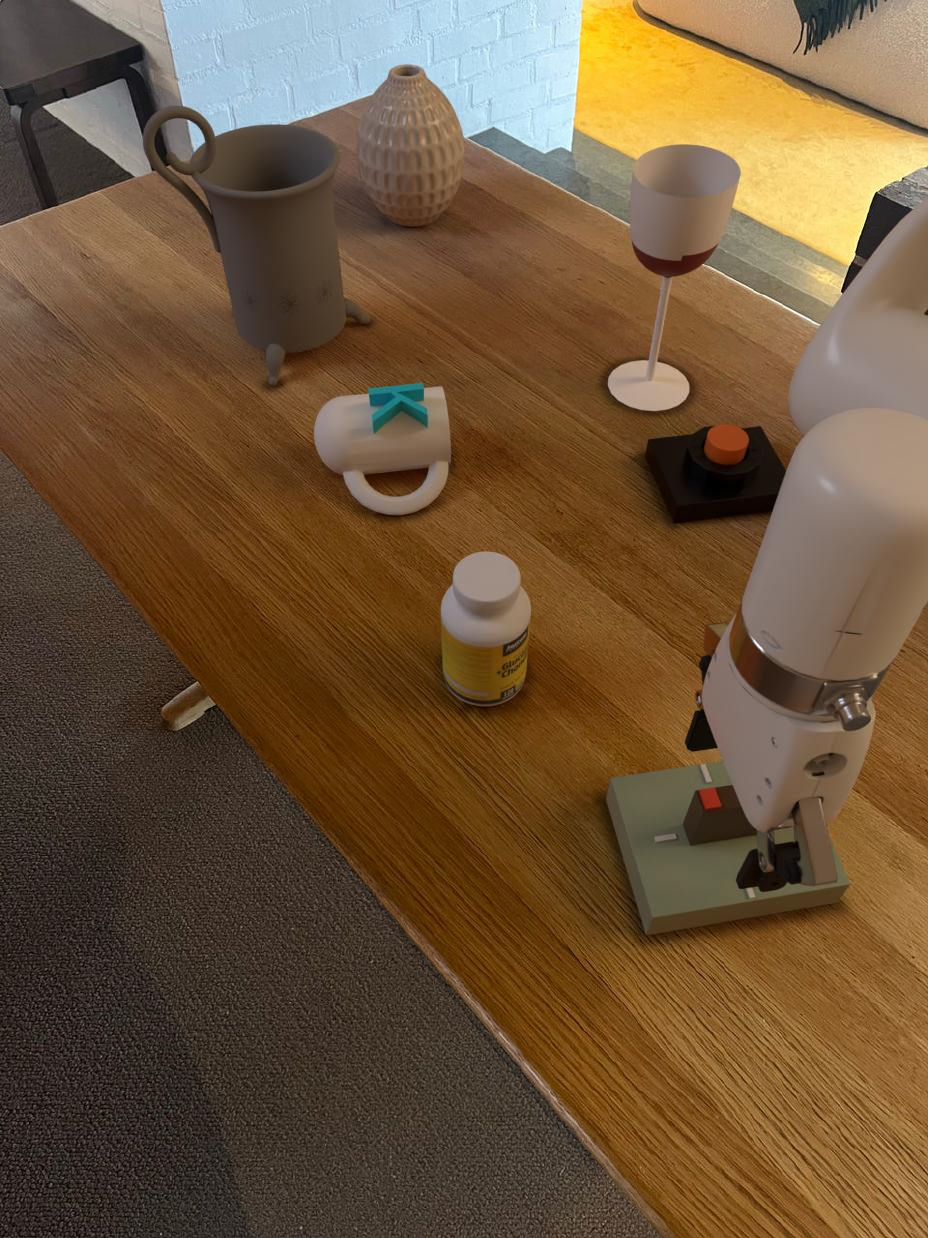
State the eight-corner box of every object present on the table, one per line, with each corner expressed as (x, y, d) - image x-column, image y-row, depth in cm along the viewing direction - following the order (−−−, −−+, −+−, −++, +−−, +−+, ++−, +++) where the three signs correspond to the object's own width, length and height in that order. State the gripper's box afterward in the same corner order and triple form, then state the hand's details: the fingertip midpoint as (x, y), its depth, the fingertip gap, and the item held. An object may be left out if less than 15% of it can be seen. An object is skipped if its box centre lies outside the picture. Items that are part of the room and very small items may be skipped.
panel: (780, 771, 69) (791, 748, 67) (837, 903, 63) (852, 883, 60) (605, 799, 68) (610, 776, 65) (645, 936, 61) (653, 917, 59)
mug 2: (304, 372, 82) (442, 359, 84) (313, 422, 91) (438, 409, 92) (318, 498, 79) (461, 482, 81) (326, 537, 88) (455, 522, 89)
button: (736, 437, 87) (740, 421, 85) (750, 463, 85) (755, 448, 83) (698, 441, 86) (701, 426, 85) (711, 468, 84) (715, 452, 83)
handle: (761, 811, 64) (779, 775, 60) (770, 833, 63) (789, 797, 59) (682, 824, 63) (695, 788, 59) (689, 846, 62) (703, 811, 58)
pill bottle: (487, 725, 72) (490, 628, 63) (425, 678, 74) (419, 578, 65) (543, 673, 75) (553, 573, 66) (481, 629, 77) (483, 528, 68)
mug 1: (350, 287, 109) (324, 46, 90) (391, 360, 100) (371, 111, 81) (185, 322, 105) (121, 77, 85) (213, 401, 96) (147, 149, 77)
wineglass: (587, 393, 97) (613, 178, 80) (632, 347, 102) (666, 134, 84) (665, 425, 93) (709, 208, 76) (708, 376, 98) (758, 161, 81)
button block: (755, 443, 92) (765, 410, 89) (791, 508, 86) (803, 475, 83) (644, 456, 91) (650, 423, 87) (673, 523, 85) (681, 490, 82)
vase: (341, 213, 119) (325, 69, 107) (418, 179, 125) (412, 38, 112) (408, 253, 113) (400, 105, 101) (486, 215, 119) (488, 71, 106)
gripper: (966, 783, 42) (846, 932, 56) (812, 513, 53) (742, 691, 66) (806, 808, 42) (722, 953, 55) (682, 528, 52) (637, 706, 66)
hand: (733, 809), depth 61 cm, fingers open, 9 cm apart
